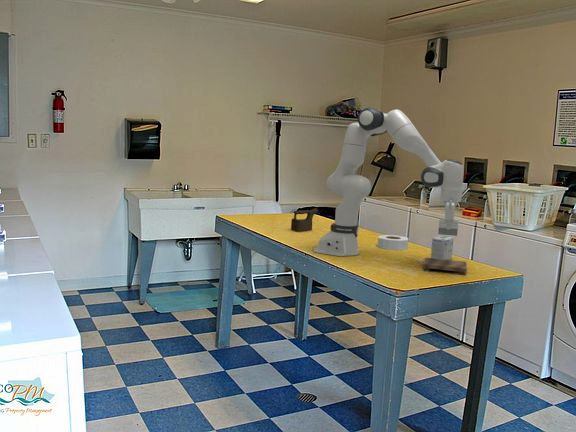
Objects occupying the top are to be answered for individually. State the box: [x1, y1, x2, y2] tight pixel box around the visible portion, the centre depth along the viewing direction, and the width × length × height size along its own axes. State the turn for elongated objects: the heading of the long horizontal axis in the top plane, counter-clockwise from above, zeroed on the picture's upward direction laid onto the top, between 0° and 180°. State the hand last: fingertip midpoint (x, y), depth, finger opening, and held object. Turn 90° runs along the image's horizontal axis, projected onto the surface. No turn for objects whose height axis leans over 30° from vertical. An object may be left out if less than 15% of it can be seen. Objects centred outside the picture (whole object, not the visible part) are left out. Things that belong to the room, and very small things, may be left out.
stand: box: [423, 257, 468, 276], centre depth 238 cm, size 18×14×3 cm
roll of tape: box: [377, 234, 409, 251], centre depth 283 cm, size 16×16×6 cm
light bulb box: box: [430, 235, 455, 260], centre depth 258 cm, size 11×7×11 cm, turn 141°
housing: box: [437, 218, 459, 237], centre depth 235 cm, size 5×8×6 cm, turn 73°
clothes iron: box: [290, 207, 319, 233], centre depth 322 cm, size 8×16×13 cm, turn 121°
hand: (448, 228), depth 236 cm, fingers closed on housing, 5 cm apart
